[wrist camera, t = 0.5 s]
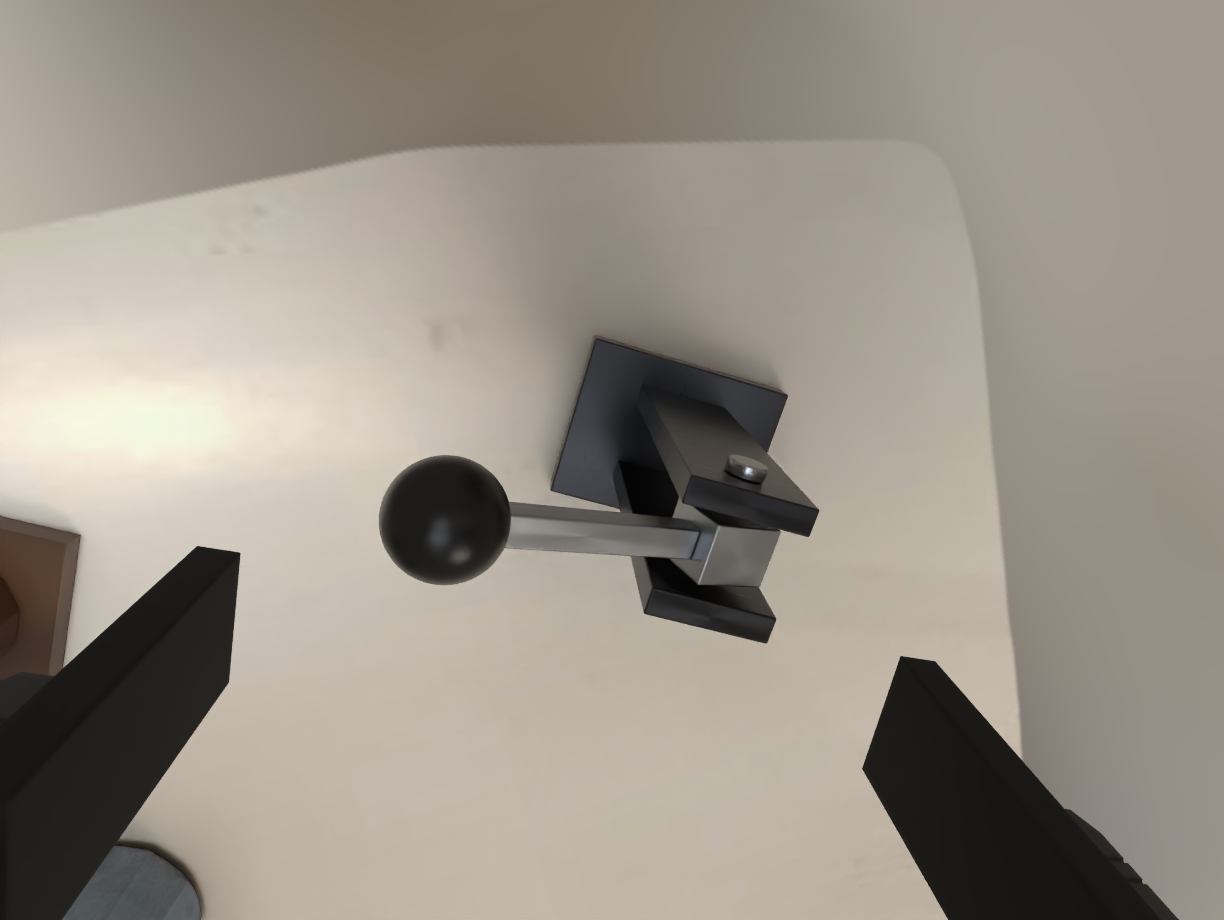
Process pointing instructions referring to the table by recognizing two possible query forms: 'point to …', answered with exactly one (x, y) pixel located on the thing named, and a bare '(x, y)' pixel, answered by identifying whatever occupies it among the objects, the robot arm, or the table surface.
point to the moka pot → (136, 890)
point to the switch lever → (550, 529)
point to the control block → (34, 596)
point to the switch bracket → (680, 468)
